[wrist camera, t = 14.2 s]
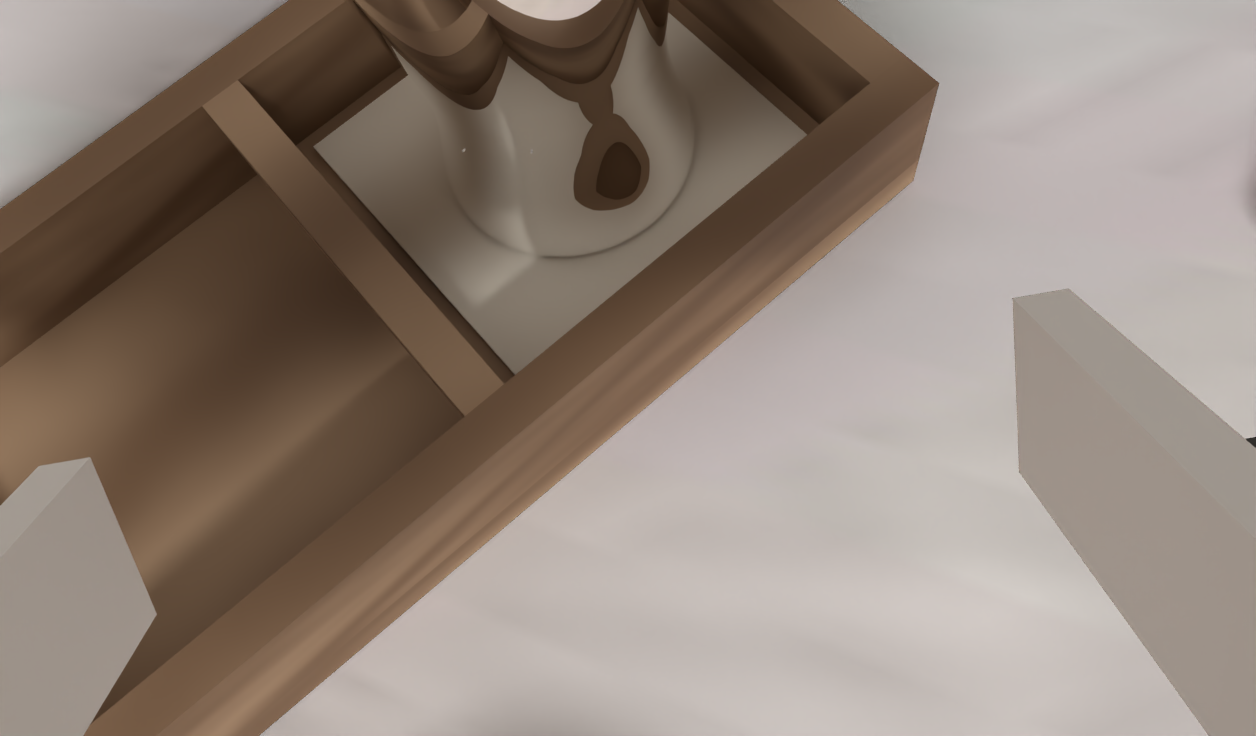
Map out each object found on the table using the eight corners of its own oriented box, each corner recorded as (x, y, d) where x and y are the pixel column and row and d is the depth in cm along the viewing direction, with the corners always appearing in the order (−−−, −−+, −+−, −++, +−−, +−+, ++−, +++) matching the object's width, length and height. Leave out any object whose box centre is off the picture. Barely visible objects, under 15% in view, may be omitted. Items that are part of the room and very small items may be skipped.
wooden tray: (913, 180, 27) (939, 83, 23) (133, 842, 23) (15, 853, 20) (599, -90, 31) (579, -210, 27) (-107, 439, 27) (-243, 385, 24)
